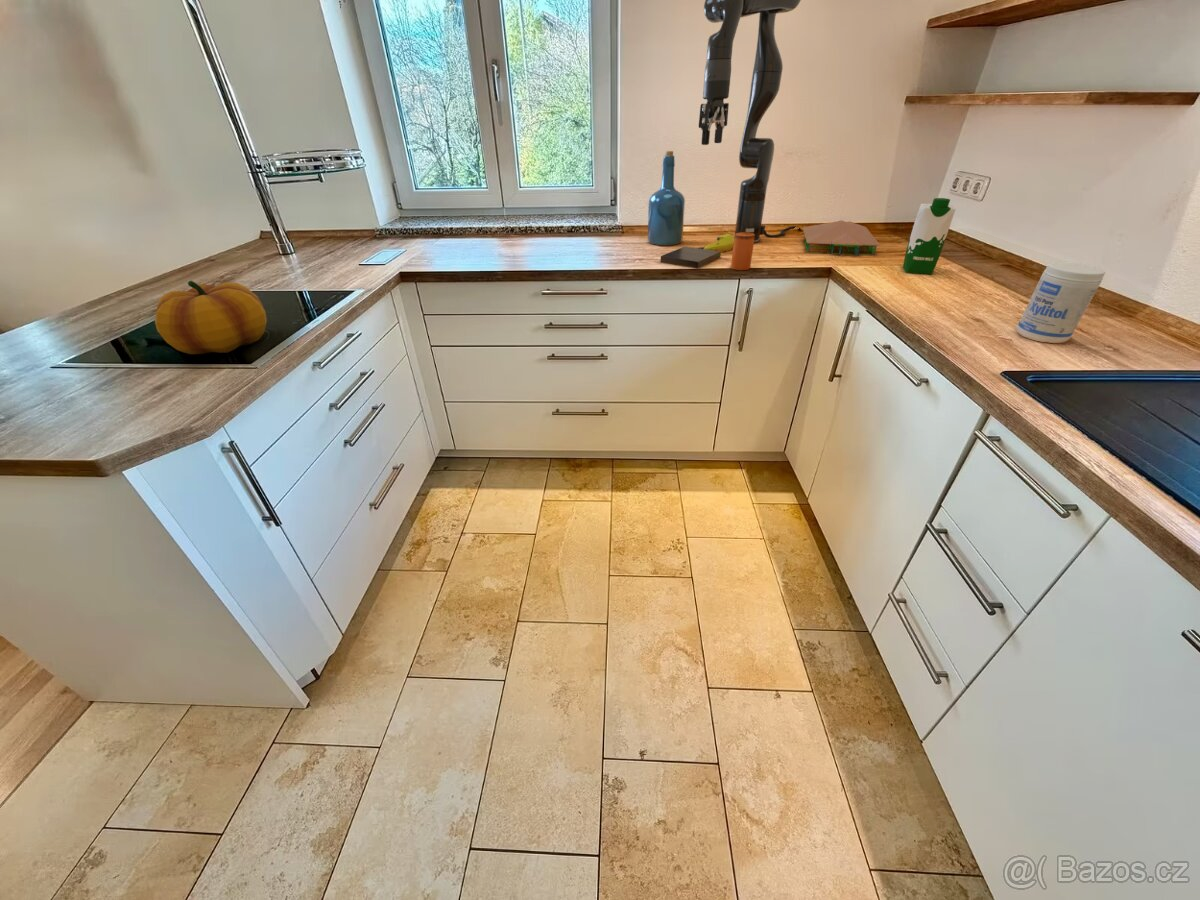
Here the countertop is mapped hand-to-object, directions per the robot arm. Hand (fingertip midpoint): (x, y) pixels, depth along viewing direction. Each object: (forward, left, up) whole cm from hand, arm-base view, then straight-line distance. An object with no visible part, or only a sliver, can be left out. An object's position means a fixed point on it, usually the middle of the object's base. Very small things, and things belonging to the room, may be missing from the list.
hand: (711, 143), depth 158 cm
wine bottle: (-10, -21, -33) cm, 41 cm away
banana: (-12, -1, -33) cm, 35 cm away
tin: (+8, +18, -33) cm, 39 cm away
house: (-38, +34, -33) cm, 61 cm away
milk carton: (-17, +64, -33) cm, 74 cm away
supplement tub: (+25, +96, -33) cm, 105 cm away
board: (+8, 0, -33) cm, 34 cm away
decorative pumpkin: (+132, -53, -33) cm, 146 cm away
